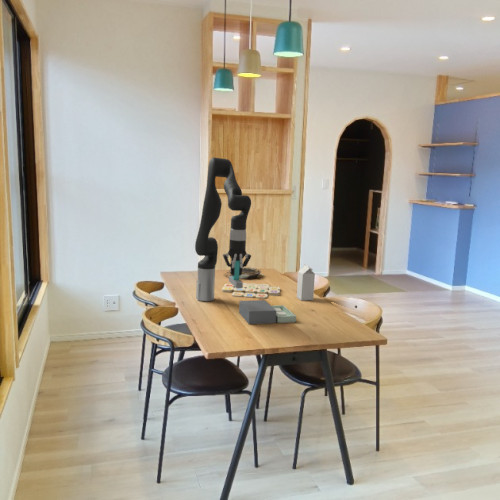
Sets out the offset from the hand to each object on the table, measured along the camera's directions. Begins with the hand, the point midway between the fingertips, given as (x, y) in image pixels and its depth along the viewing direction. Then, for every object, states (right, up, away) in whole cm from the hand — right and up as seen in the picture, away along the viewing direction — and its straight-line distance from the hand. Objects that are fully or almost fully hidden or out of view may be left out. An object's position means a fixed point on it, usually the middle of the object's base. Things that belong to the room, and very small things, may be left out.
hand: (236, 275), depth 229 cm
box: (+21, -21, +10) cm, 31 cm away
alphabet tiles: (+7, -13, +58) cm, 60 cm away
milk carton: (+37, -16, +45) cm, 60 cm away
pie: (+3, -6, +96) cm, 96 cm away
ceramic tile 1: (+22, -18, +6) cm, 29 cm away
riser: (+10, -21, +6) cm, 24 cm away
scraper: (0, -4, +1) cm, 5 cm away
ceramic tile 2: (+20, -17, +12) cm, 29 cm away
